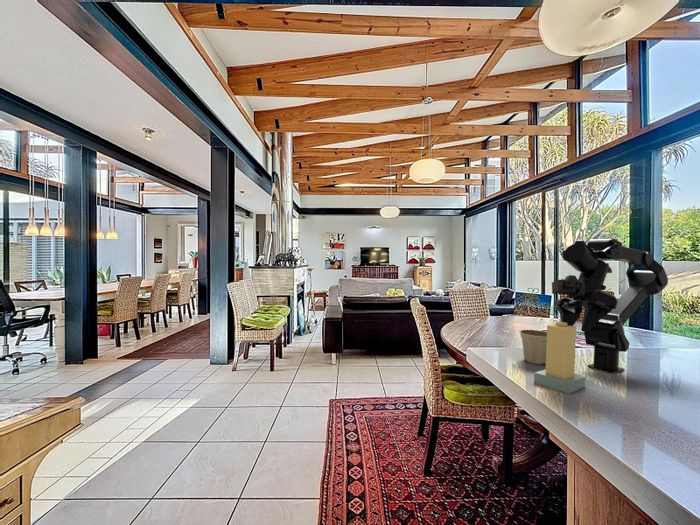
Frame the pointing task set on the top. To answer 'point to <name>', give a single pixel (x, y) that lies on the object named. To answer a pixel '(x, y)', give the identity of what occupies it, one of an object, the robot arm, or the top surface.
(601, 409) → the top surface
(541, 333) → the flower pot
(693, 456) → the top surface
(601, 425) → the top surface
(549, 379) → the plinth brick
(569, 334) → the tower brick
